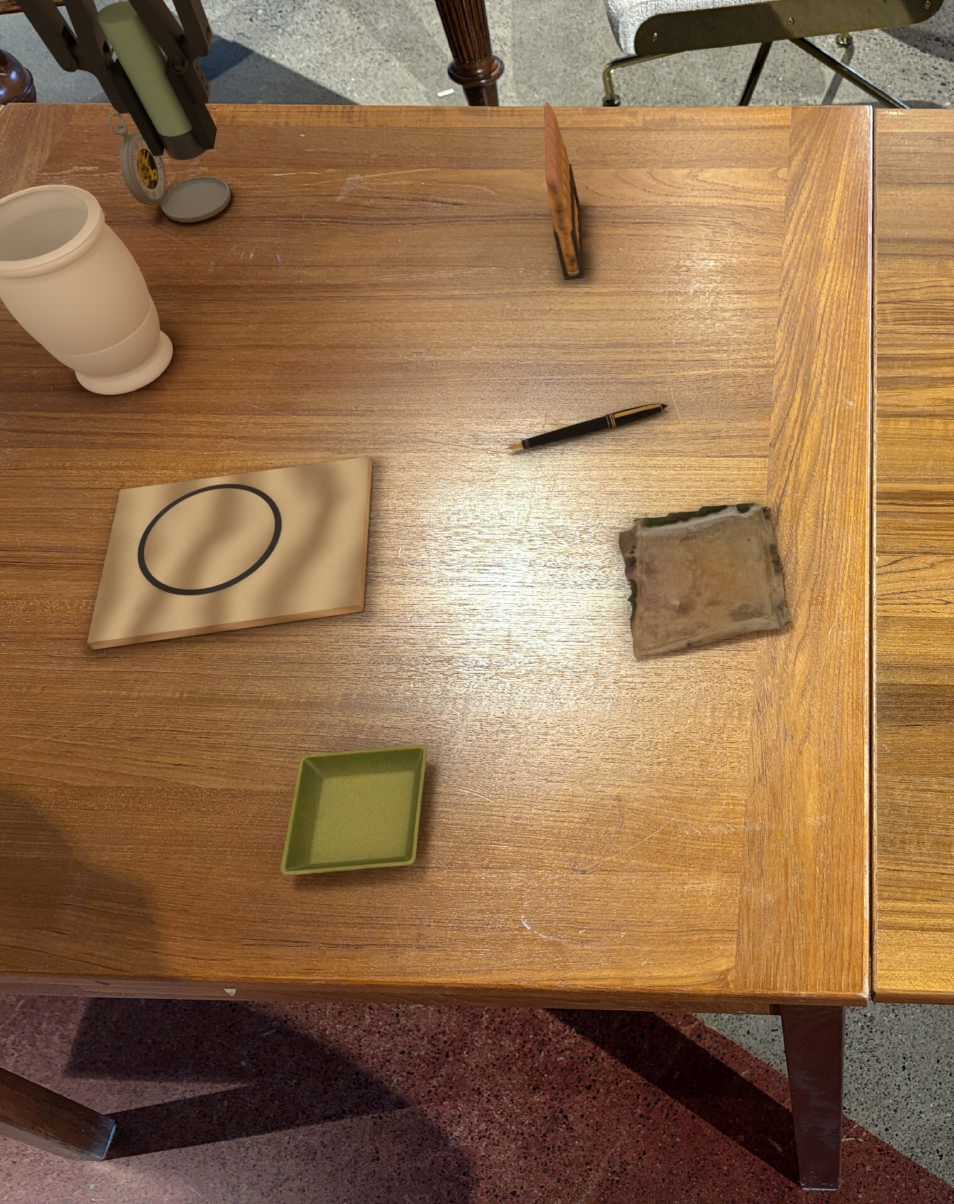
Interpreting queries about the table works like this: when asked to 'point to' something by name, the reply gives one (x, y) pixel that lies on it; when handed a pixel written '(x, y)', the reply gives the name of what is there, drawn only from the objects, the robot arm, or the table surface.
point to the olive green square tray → (355, 810)
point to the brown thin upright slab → (563, 199)
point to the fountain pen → (592, 425)
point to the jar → (79, 289)
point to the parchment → (702, 577)
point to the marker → (149, 78)
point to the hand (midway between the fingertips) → (185, 141)
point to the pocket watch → (182, 199)
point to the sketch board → (234, 553)
